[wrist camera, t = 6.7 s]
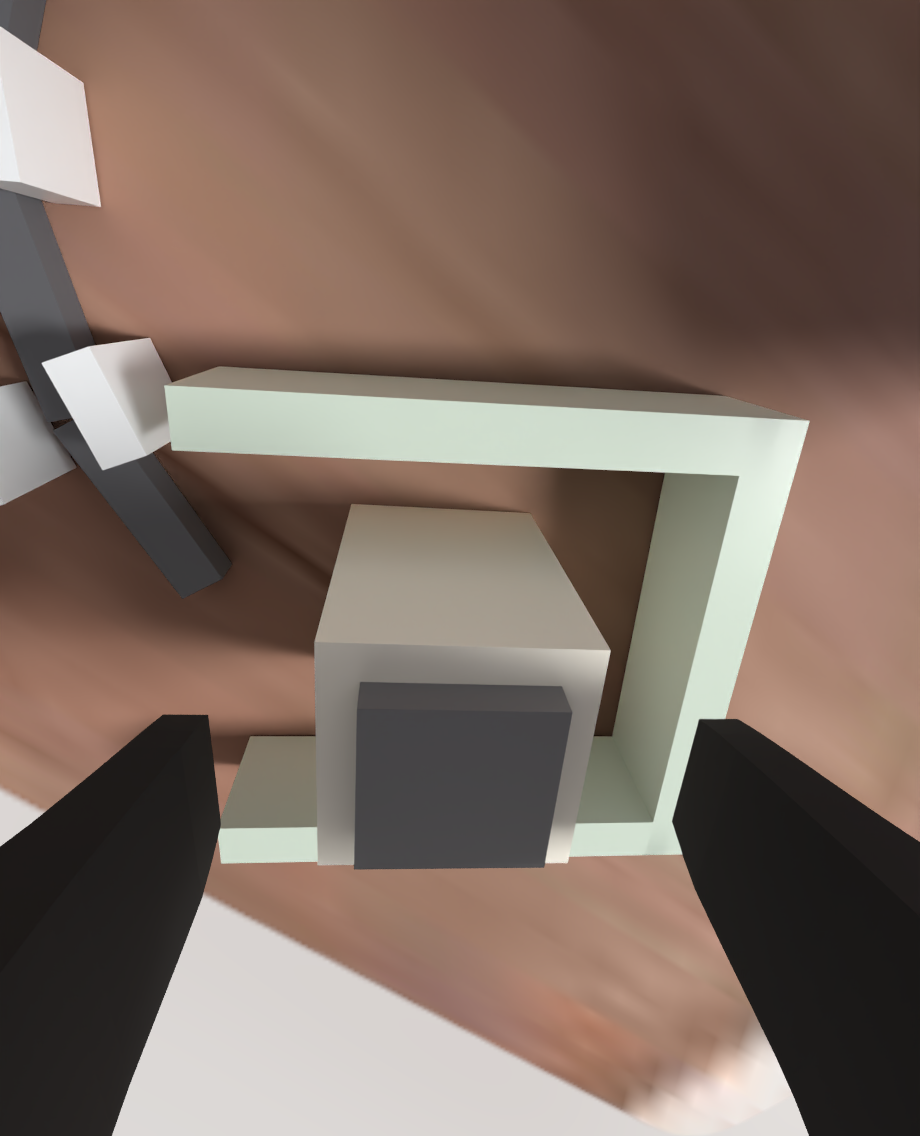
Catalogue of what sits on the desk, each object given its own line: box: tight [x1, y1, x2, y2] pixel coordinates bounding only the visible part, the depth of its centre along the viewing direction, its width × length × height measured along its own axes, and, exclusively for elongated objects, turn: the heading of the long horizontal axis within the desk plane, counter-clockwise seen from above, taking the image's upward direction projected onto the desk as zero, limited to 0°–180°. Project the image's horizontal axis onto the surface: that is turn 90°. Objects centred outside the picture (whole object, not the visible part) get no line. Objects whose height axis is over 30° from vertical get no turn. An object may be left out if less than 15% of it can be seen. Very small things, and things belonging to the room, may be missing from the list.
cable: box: [0, 0, 232, 599], centre depth 10 cm, size 4×17×1 cm, turn 176°
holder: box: [164, 366, 809, 863], centre depth 13 cm, size 10×10×3 cm
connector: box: [314, 504, 611, 869], centre depth 11 cm, size 4×4×7 cm
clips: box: [0, 27, 172, 505], centre depth 9 cm, size 6×12×2 cm, turn 176°
